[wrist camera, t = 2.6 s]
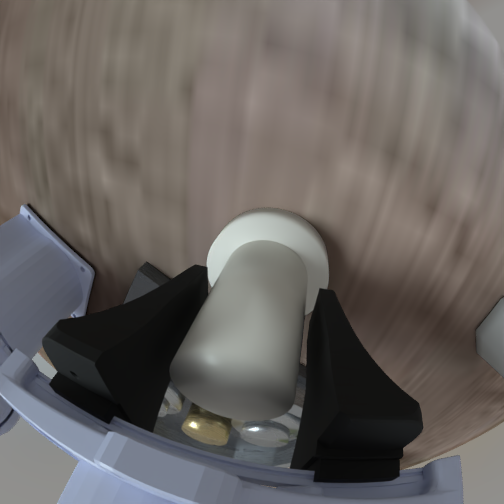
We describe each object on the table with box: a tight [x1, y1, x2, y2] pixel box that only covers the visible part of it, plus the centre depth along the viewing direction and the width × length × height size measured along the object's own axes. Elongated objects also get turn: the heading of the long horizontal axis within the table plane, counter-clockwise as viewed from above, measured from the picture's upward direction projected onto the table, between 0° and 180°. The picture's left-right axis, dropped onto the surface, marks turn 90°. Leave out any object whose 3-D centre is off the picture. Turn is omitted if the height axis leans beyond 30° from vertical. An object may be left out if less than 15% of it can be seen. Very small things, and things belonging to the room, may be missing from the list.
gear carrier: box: [123, 262, 306, 468], centre depth 22 cm, size 24×24×4 cm
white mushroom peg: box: [169, 208, 329, 421], centre depth 11 cm, size 6×6×8 cm
